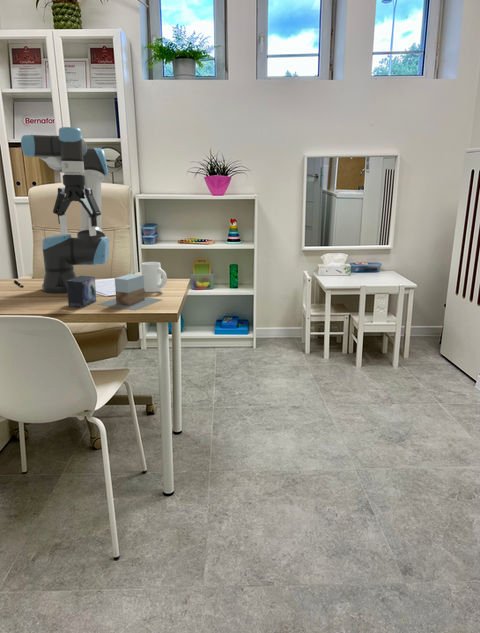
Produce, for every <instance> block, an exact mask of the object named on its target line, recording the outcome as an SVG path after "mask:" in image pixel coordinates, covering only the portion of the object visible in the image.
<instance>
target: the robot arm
mask: <svg viewBox="0 0 480 633" xmlns="http://www.w3.org/2000/svg"><path fill="white" fill-rule="evenodd" d="M20 140H21V141H20V146H21V152H22V153H23V155H24V156H25V157H31V158H38V159H40V160H42V161H44V162H45V163H46V165H47V166H48V167H49V168H51V169H52V170H53V171H56V172H59V173H62V174H63V175H62V184H63V186H64V187H58V188H57V195H56V198H55V202H54V207H53V209H52V212H53V214H55V215H57V218H58V219H57V221H58V225H59V229H60V234H56V235H50V236H47V237H45V238H43V239H42V241H41V242H42V248H41V250H42V255H43V263H44V276H43V283H42V284H41V288H42V289H41V290H42V291H43V292H45V293H50V294H60V293H61V294H63V293H68V291H67V280H70V279H73V278H76V277H77V275H76V273H75V268H74V266H98V265H105V264H106V263H107V261H108V258H109V253H110V252H109V251H110V240H109V237H107V236H106V233H105V232H104V231H103V227H102V224H103V223H102V183H103V182H104V181H105V176H108V175H109V171H108V165H107V159H106V153H105V150H104V149H103V148H101V147H94V146H93V147H88V145H87V142H86V141H85V140H84V139H83V135H82V130H81V129H80V128H78V127H74V126H73V127H71V126H61V127H60V128H58V135H49V134H48V135H46V134H45V135H44V134H41V135H40V134H23V135H22V136H21V139H20ZM72 202H79V203H80V230H79V231H77V236H76V237H72V234H70V233H68V223H67V222H68V221H67V215H66V212H67V210H68V208H69V206H70V205H71V204H72Z"/></svg>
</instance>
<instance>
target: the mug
mask: <svg viewBox="0 0 480 633" xmlns="http://www.w3.org/2000/svg"><path fill="white" fill-rule="evenodd" d="M141 275H144V292H146V293H156V292H160V293H161V292H162V288H164V287H165V286H166V284H167V283H168V277H167V273H166V271H165V270H163V269H162V267H161V262H160V261H145V262H142V263H141Z"/></svg>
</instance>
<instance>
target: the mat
mask: <svg viewBox="0 0 480 633" xmlns="http://www.w3.org/2000/svg"><path fill="white" fill-rule="evenodd" d="M163 300H164V299H163V298H162V299H161V298H160V299H159V298H154V297H153V298H152V297H146V296H145V300H144V301H141V302H138V303H135V304H133V305H130V306H127V305H120V304H116V297H115V298H113V299H110V300H106V301H103V302H100V303H97V305H98V306H106V307H110V308H111V307H112V308H116V309H117V308H118V309H123V310H130V311H131V310H132V311H138V310H140V309H142V308H145V307H148V306H151V305H153V304H155V303H158V302H160V301H163Z"/></svg>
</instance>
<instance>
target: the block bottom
mask: <svg viewBox="0 0 480 633" xmlns="http://www.w3.org/2000/svg"><path fill="white" fill-rule="evenodd" d="M145 297H146V295H145V291H144V288H142V289H139V290H136V291H133V292H130V293H125V292H118V291H115V298H116V304H120V305H127V306H130V305H133V304H135V303H138V302H141V301H144V300H145Z"/></svg>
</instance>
